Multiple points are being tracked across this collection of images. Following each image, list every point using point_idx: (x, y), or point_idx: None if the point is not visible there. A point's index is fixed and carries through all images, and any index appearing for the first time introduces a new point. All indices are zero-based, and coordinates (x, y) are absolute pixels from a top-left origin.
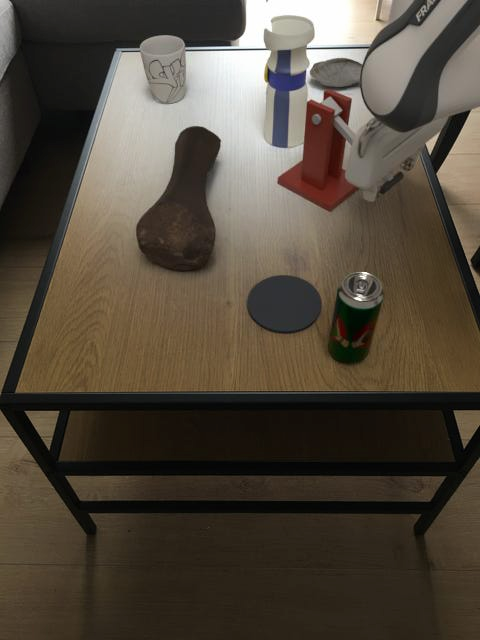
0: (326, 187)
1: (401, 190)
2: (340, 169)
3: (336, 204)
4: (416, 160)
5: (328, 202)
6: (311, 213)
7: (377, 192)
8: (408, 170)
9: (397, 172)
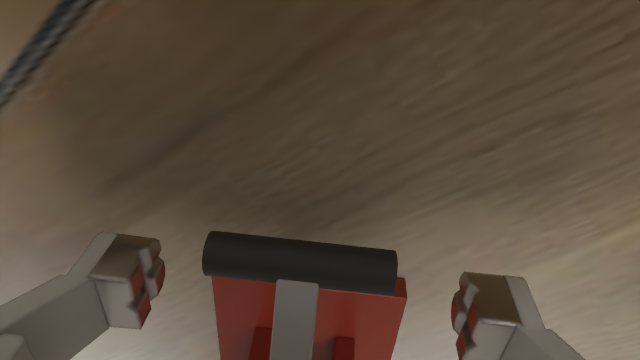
0: (330, 335)
1: (138, 156)
2: (257, 356)
3: None
4: (76, 263)
5: (395, 308)
6: (442, 310)
7: (508, 313)
8: (155, 244)
9: (213, 275)
